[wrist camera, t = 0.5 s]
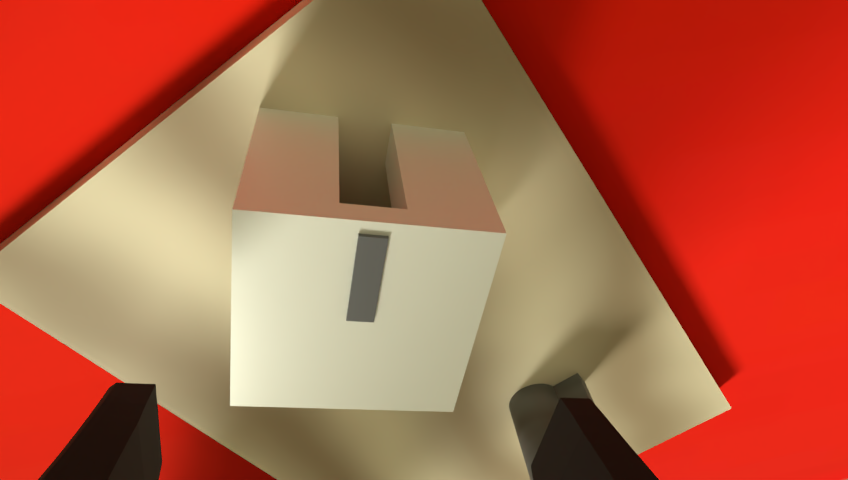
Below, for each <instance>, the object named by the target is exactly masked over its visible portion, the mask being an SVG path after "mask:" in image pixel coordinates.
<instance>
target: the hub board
mask: <svg viewBox="0 0 848 480" xmlns="http://www.w3.org/2000/svg"><path fill="white" fill-rule="evenodd" d="M259 107H260V108H268V109H277V110H285V111H293V112H302V113H310V114H318V115H326V116H335V117H338V124H339V203H345V204H355V205H366V206H377V207H388V208H391V201H390V194H389V187H388V181H387V174H386V167H385V161H386V155H387V148H388V142H389V136H390V130H391V124H392V123H393V124H401V125H409V126H418V127H426V128H434V129H442V130H451V131H459V132H465V135H466V137H467V140H468V142H469V144H470V147H471V149H472V152H473V154H474V156H475V159H476V161H477V164H478V166H479V168H480V171H481V173H482V176H483V178H484V180H485V183H486V185H487V188H488V190H489V192H490V195H491V197H492V200H493V202H494V204H495V207H496V209H497V212H498V214H499V216H500V219H501V221H502V224H503V226H504V228H505V231H506V233H507V234H506V237H505V241H504V244H503V247H502V251H501V254H500V257H499V261H498V264H497V267H496V271H495V274H494V277H493V281H492V284H491V287H490V291H489V294H488V297H487V301H486V304H485V307H484V311H483V314H482V317H481V321H480V324H479V327H478V331H477V334H476V337H475V341H474V344H473V347H472V351H471V354H470V357H469V361H468V364H467V367H466V371H465V374H464V377H463V381H462V384H461V387H460V391H459V394H458V397H457V401H456V404H455V407H454V411H453V412H435V411H398V410H362V409H325V408H289V407H252V406H230V358H231V273H232V208H233V205H234V201H235V197H236V193H237V190H238V186H239V182H240V178H241V174H242V171H243V167H244V163H245V159H246V156H247V152H248V148H249V144H250V140H251V137H252V133H253V129H254V125H255V122H256V118H257V114H258V110H259ZM0 303H1V304H2V305H4V306H5V307H7V308H9V309H10V310H12V311H13V312H15V313H16V314H18V315H20V316H21V317H23V318H24V319H26V320H27V321H29V322H31V323H32V324H34V325H35V326H37V327H38V328H40V329H41V330H43V331H45V332H46V333H48V334H49V335H51V336H52V337H54V338H56V339H57V340H59V341H60V342H62V343H63V344H65V345H67V346H68V347H70V348H71V349H73V350H74V351H76V352H78V353H79V354H81V355H82V356H84V357H85V358H87V359H89V360H90V361H92V362H93V363H95V364H96V365H98V366H100V367H101V368H103V369H104V370H106V371H107V372H109V373H111V374H112V375H114V376H115V377H117V378H118V379H120V380H122V381H123V382H125V383H139V384H156V395H157V403H158V404H159V405H161V406H162V407H164V408H165V409H167V410H169V411H170V412H172V413H173V414H175V415H176V416H178V417H180V418H181V419H183V420H184V421H186V422H187V423H189V424H191V425H192V426H194V427H195V428H197V429H198V430H200V431H202V432H203V433H205V434H206V435H208V436H209V437H211V438H213V439H214V440H216V441H217V442H219V443H220V444H222V445H224V446H225V447H227V448H228V449H230V450H231V451H233V452H235V453H236V454H238V455H239V456H241V457H242V458H244V459H245V460H247V461H249V462H250V463H252V464H253V465H255V466H256V467H258V468H260V469H261V470H263V471H264V472H266V473H267V474H269V475H271V476H272V477H274V478H275V479H277V480H533V476H532V470H531V464H532V462H533V459H534V457H535V455H536V452H537V450H538V448H539V445H540V443H541V441H542V438H543V436H544V434H545V432H546V429H547V427H548V425H549V422H550V420H551V418H552V415H553V413H554V411H555V408H556V406H557V404H558V401H559V399H560V398H589V399H591V400H592V401H593V403H594V404H595V405H596V406H597V407H598V408H599V410H600V411H601V412H602V413H603V414H604V415H605V417H606V418H607V419H608V420H609V421H610V423H611V424H612V425H613V426H614V427H615V429H616V430H617V431H618V432H619V433H620V435H621V436H622V437H623V438H624V439H625V441H626V442H627V443H628V444H629V445H630V447H631V448H632V449H633V450H634V451H635V452H636V454H637V455H638V454H640V453H642V452H644V451H646V450H648V449H650V448H652V447H654V446H656V445H658V444H660V443H662V442H664V441H666V440H668V439H670V438H672V437H674V436H676V435H678V434H680V433H682V432H684V431H686V430H688V429H690V428H692V427H694V426H697V425H699V424H701V423H703V422H705V421H707V420H709V419H711V418H713V417H715V416H717V415H719V414H721V413H723V412H725V411H727V410H729V409H731V407H730V405H729V403H728V402H727V400H726V398H725V397H724V395H723V394H722V392H721V390H720V389H719V387H718V385H717V384H716V382H715V380H714V379H713V377H712V376H711V374H710V372H709V371H708V369H707V367H706V366H705V364H704V363H703V361H702V359H701V358H700V356H699V354H698V353H697V351H696V349H695V348H694V346H693V345H692V343H691V341H690V340H689V338H688V336H687V335H686V333H685V332H684V330H683V328H682V327H681V325H680V323H679V322H678V320H677V318H676V317H675V315H674V314H673V312H672V310H671V309H670V307H669V305H668V304H667V302H666V301H665V299H664V297H663V296H662V294H661V292H660V291H659V289H658V287H657V286H656V284H655V283H654V281H653V279H652V278H651V276H650V274H649V273H648V271H647V270H646V268H645V266H644V265H643V263H642V261H641V260H640V258H639V256H638V255H637V253H636V252H635V250H634V248H633V247H632V245H631V243H630V242H629V240H628V238H627V237H626V235H625V234H624V232H623V230H622V229H621V227H620V225H619V224H618V222H617V221H616V219H615V217H614V216H613V214H612V212H611V211H610V209H609V207H608V206H607V204H606V203H605V201H604V199H603V198H602V196H601V194H600V193H599V191H598V190H597V188H596V186H595V185H594V183H593V181H592V180H591V178H590V176H589V175H588V173H587V172H586V170H585V168H584V167H583V165H582V163H581V162H580V160H579V159H578V157H577V155H576V154H575V152H574V150H573V149H572V147H571V145H570V144H569V142H568V141H567V139H566V137H565V136H564V134H563V132H562V131H561V129H560V127H559V126H558V124H557V123H556V121H555V119H554V118H553V116H552V114H551V113H550V111H549V110H548V108H547V106H546V105H545V103H544V101H543V100H542V98H541V96H540V95H539V93H538V92H537V90H536V88H535V87H534V85H533V83H532V82H531V80H530V79H529V77H528V75H527V74H526V72H525V70H524V69H523V67H522V65H521V64H520V62H519V61H518V59H517V57H516V56H515V54H514V52H513V51H512V49H511V48H510V46H509V44H508V43H507V41H506V39H505V38H504V36H503V34H502V33H501V31H500V30H499V28H498V26H497V25H496V23H495V21H494V20H493V18H492V17H491V15H490V13H489V12H488V10H487V8H486V7H485V5H484V3H483V2H482V0H302V1H301V2H300V3H298V4H297V5H296V6H295V7H293V8H292V9H291V10H290V11H289V12H287V13H286V14H285V15H284V16H282V17H281V18H280V19H279V20H277V21H276V22H275V23H274V24H272V25H271V26H270V27H269V28H267V29H266V30H265V31H264V32H262V33H261V34H260V35H259V36H257V37H256V38H255V39H254V40H253V41H251V42H250V43H249V44H248V45H246V46H245V47H244V48H243V49H241V50H240V51H239V52H238V53H236V54H235V55H234V56H233V57H231V58H230V59H229V60H228V61H226V62H225V63H224V64H223V65H221V66H220V67H219V68H218V69H217V70H215V71H214V72H213V73H212V74H210V75H209V76H208V77H207V78H205V79H204V80H203V81H202V82H200V83H199V84H198V85H197V86H195V87H194V88H193V89H192V90H190V91H189V92H188V93H187V94H186V95H184V96H183V97H182V98H181V99H179V100H178V101H177V102H176V103H174V104H173V105H172V106H171V107H169V108H168V109H167V110H166V111H164V112H163V113H162V114H161V115H159V116H158V117H157V118H156V119H154V120H153V121H152V122H151V123H150V124H148V125H147V126H146V127H145V128H143V129H142V130H141V131H140V132H138V133H137V134H136V135H135V136H133V137H132V138H131V139H130V140H128V141H127V142H126V143H125V144H123V145H122V146H121V147H120V148H118V149H117V150H116V151H115V152H114V153H112V154H111V155H110V156H109V157H107V158H106V159H105V160H104V161H102V162H101V163H100V164H99V165H97V166H96V167H95V168H94V169H92V170H91V171H90V172H89V173H87V174H86V175H85V176H84V177H82V178H81V179H80V180H79V181H78V182H76V183H75V184H74V185H73V186H71V187H70V188H69V189H68V190H66V191H65V192H64V193H63V194H61V195H60V196H59V197H58V198H56V199H55V200H54V201H53V202H51V203H50V204H49V205H48V206H46V207H45V208H44V209H43V210H42V211H40V212H39V213H38V214H37V215H35V216H34V217H33V218H32V219H30V220H29V221H28V222H27V223H25V224H24V225H23V226H22V227H20V228H19V229H18V230H17V231H15V232H14V233H13V234H12V235H10V236H9V237H8V238H7V239H6V240H4V241H3V242H2V243H1V244H0Z"/></svg>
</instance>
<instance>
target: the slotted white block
mask: <svg viewBox="0 0 848 480" xmlns="http://www.w3.org/2000/svg"><path fill="white" fill-rule="evenodd" d="M385 167H386V174H387V181H388V187H389V194H390V201H391V208H388V207H377V206H366V205H355V204H345V203H339V124H338V117H335V116H326V115H318V114H310V113H302V112H293V111H285V110H277V109H268V108H260V107H259V110H258V114H257V118H256V122H255V125H254V129H253V133H252V137H251V140H250V144H249V148H248V152H247V156H246V159H245V163H244V167H243V171H242V174H241V178H240V182H239V186H238V190H237V193H236V197H235V201H234V205H233V208H232V273H231V358H230V406H252V407H289V408H325V409H362V410H398V411H435V412H453V411H454V407H455V404H456V401H457V397H458V394H459V391H460V387H461V384H462V381H463V377H464V374H465V371H466V367H467V364H468V361H469V357H470V354H471V351H472V347H473V344H474V341H475V337H476V334H477V331H478V327H479V324H480V321H481V317H482V314H483V311H484V307H485V304H486V301H487V297H488V294H489V291H490V287H491V284H492V281H493V277H494V274H495V271H496V267H497V264H498V261H499V257H500V254H501V251H502V247H503V244H504V241H505V237H506V234H507V233H506V231H505V228H504V226H503V224H502V221H501V219H500V216H499V214H498V212H497V209H496V207H495V204H494V202H493V200H492V197H491V195H490V192H489V190H488V188H487V185H486V183H485V180H484V178H483V176H482V173H481V171H480V168H479V166H478V164H477V161H476V159H475V156H474V154H473V152H472V149H471V147H470V144H469V142H468V140H467V137H466V135H465V132H459V131H451V130H442V129H434V128H426V127H418V126H409V125H401V124H393V123H392V124H391V130H390V136H389V142H388V148H387V155H386V161H385Z"/></svg>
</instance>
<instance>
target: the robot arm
mask: <svg viewBox="0 0 848 480" xmlns="http://www.w3.org/2000/svg"><path fill="white" fill-rule="evenodd" d="M161 465H162V456H161V443H160V431H159V419H158V407H157V395H156V384H139V383H115V384H114V385H112V386H111V387H110V388H109V389H108V390H107V392H106V393H105V395H104V396H103V398H102V399H101V400H100V402H99V403H98V405H97V406H96V407H95V409H94V410H93V411H92V413H91V414H90V415H89V417H88V418H87V419H86V421H85V422H84V423H83V425H82V426H81V427H80V429H79V430H78V431H77V433H76V434H75V435H74V436H73V438H72V439H71V440H70V441H69V443H68V444H67V445H66V446H65V448H64V449H63V450H62V451H61V453H60V454H59V455H58V457H57V458H56V459H55V460H54V461H53V463H52V464H51V465H50V466H49V467H48V468H47V470H46V471H45V472H44V473H43V474H42V476H41V477H40V478H39V479H38V480H158V479H159V475H160V470H161ZM531 470H532V476H533V480H659V479H658V478H657V477H656V476H655V475H654V474H653V472H652V471H651V470H650V469H649V468H648V467H647V465H646V464H645V463H644V462H643V461H642V460H641V458H640V457H639V456H638V455H637V454H636V452H635V451H634V450H633V449H632V448H631V447H630V445H629V444H628V443H627V442H626V441H625V439H624V438H623V437H622V436H621V435H620V433H619V432H618V431H617V430H616V429H615V427H614V426H613V425H612V424H611V423H610V421H609V420H608V419H607V418H606V417H605V415H604V414H603V413H602V412H601V411H600V410H599V408H598V407H597V406H596V405H595V404H594V403H593V401H592V400H591V399H589V398H560V399H559V401H558V404H557V406H556V408H555V411H554V413H553V415H552V418H551V420H550V422H549V425H548V427H547V429H546V432H545V434H544V436H543V438H542V441H541V443H540V445H539V448H538V450H537V452H536V455H535V457H534V459H533V462H532V464H531Z"/></svg>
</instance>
